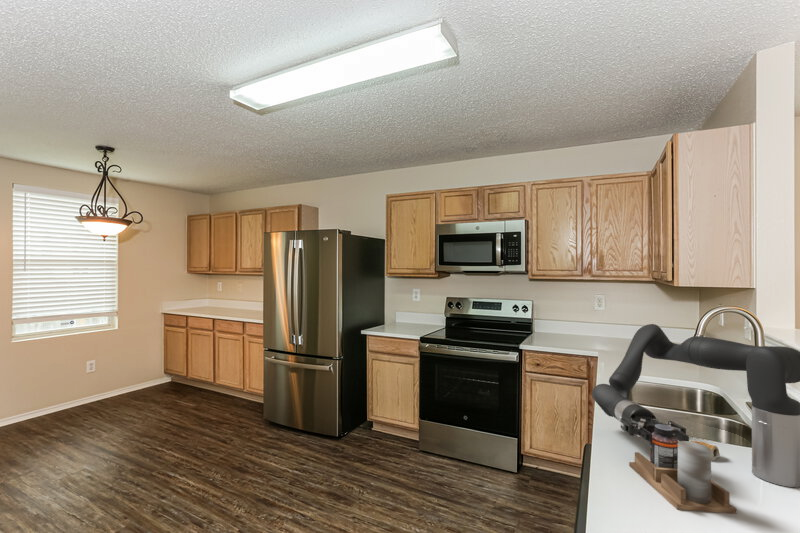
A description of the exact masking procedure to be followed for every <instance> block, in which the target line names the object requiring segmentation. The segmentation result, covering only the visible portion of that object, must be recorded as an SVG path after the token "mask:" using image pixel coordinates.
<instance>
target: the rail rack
mask: <svg viewBox="0 0 800 533" xmlns="http://www.w3.org/2000/svg"><path fill="white" fill-rule="evenodd" d="M689 441H690V440H689ZM689 441H679V440H678V469H675V468H659V467H656V466H655V465H654V464H653V463H651V462H650V459H648V458H646V456H644V455H643V454H641V453H640V452H638V451H634V461H629V462H628V466H629V467H630V468H631V469H632V470H633V471H634V472H635V473H636V474H637V475H638V476H640V478H642V479H643V480H644V481H646V483H648V485H650V487H652V488H653V489H654V490H655V491H656V492H657V493H659V495H661V496H662V497H663V498H664V499H665V500H666V502H669V504H671V505H672V506H673V507H674V508H675V509H676V510H679V511H680V510H682V511H694V512H695V511H697V512H706V513H707V512H709V513H723V514H724V513H725V514H737V508H736V507H735V506H734V505H732V504H731V503H730V499H731V498H730V496H731V495H730V494H731V493H730V492H729V491H728V490H727V489H725V488H724V487H723V486H721V485H719V484H717V483H716V482H715V481H713V480H712V461H711V449H710V448H708V447H707V446H704V445H702V444H699V443H695V442H689Z"/></svg>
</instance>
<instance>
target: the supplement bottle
mask: <svg viewBox="0 0 800 533" xmlns="http://www.w3.org/2000/svg"><path fill="white" fill-rule="evenodd" d="M654 430H655V431H654V432H653V433H652V442H649V448H650V449H649V461H650V462H651V463H653V464H654V465H655V466H656V467H659V468H675V469H678V442H679V440H678V439H677V438H676V437H675V436H674V435H675V434H674V429H673V428H672V427H670V426H667V425H662V424H657V425H655V429H654Z"/></svg>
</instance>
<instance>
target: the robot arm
mask: <svg viewBox="0 0 800 533" xmlns="http://www.w3.org/2000/svg"><path fill="white" fill-rule="evenodd" d="M644 354H645V355H646V356H648V357H649V358H652V359H656V360H666V361H674V362H681V363H686V364H691V365H696V366H700V367H705V368H709V369H715V370H723V371H724V370H725V371H736V372H737V371H739V372H740V371H741V372H744V371H745V372H746V384H747V392H748V395H749V398H750V399H751V472H752V474H753V475H754V476H756V477H757V478H759V479H761V480H763V481H766V482H768V483H772V484H775V485H779V486H784V487H789V488H800V402H799V401H798V400H796V399H794V398H792V397H790V396H789V395H788V393H787V392H788V391H787V384H796V383H800V350H797V349H796V348H793V347H789V346H780V345H779V346H773V345H772V346H771V345H769V346H768V345H767V346H766V345H765V346H764V345H763V346H762V345H760V346H759V345H750V344H745V343H741V342H737V341H734V340H733V341H731V340H726V339H723V338H722V339H721V338H715V337H711V336H710V337H708V336H703V335H702V336H701V335H695V336H691V337H688V338H686V339H685V340H683V342H681V343H680V344H678V343H674V342H672V341H671V340H670V339H669V337H668V336H667V335H666V334H665V332H664V330H663V329H662V327H660V326H659V325H658V324H654V323H650V324H646V325H643V326H641V327H640V328H639V329H638V330H636V332H635V333H634V335H633V337H632V339H631V342H630V343H629V345H628V347H627V350H626V352H625V354H624V357H623V359H622V360H621V362H620V364H619V365H618V366H617V368H615V370H614V371H613V373H612V375H611V376H610V377H609V379H608V384H607V383H600V384H596V385H595V386H594V387H593V388H592V391H591V397H592V399H593V400H594V402H595V403H596V404H597V405H598V406H599V407H600V409H601V410H602V411H603V412H604V413H605V415H607V416H608V417H610V418H611V417H612V418H614V419H616V420H617V421H618V422H620V429H621V430H622V431H624V432H625V433H626V434H627V435H629V436H635V435H636V436H637V437H639V438H642V439H643V440H644V441H646V442H647V443H650V442H652V433H653V432H654V431H655V430H654V429H655V425H657V424H662V425H667V426H670V427H672V428H673V429H674V434H673V435H674V436H675V437H676V438H677V439H678V442H679V441H690V435H687V428H686V427H683V426H682V425H681V424H680V425H679V423H676V422H674V421H671V420H668V421H667V422H664V421H660V420H659V419H658V418H657V417H656V415H655V414H654V413H653V412H652V411H651V410H649V409H648V408H646V407H644V406H643V405H640V404H639V403H637V402H635V401H632V400H630V399H629V398H630V394H631V391H632V389H633V388H634V386H635V385H636V384H637V383H638V380H639V379H640V377H641V373H642V368H643V360H644Z"/></svg>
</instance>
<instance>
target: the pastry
mask: <svg viewBox="0 0 800 533" xmlns="http://www.w3.org/2000/svg"><path fill="white" fill-rule="evenodd" d="M689 442H695V443H699V444H702V445H704V446H707V447H708V448H710V449H711V462H714V461H716V460H717V459H718V458H720V456H721V453H720V450H719V447H718V446H717V445H713V444H710V443H706V442H704V441H697V440H689Z"/></svg>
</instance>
